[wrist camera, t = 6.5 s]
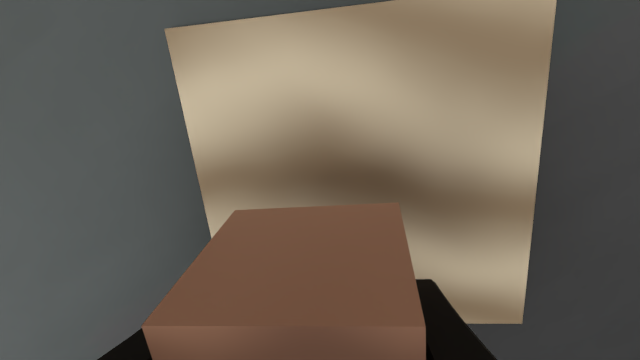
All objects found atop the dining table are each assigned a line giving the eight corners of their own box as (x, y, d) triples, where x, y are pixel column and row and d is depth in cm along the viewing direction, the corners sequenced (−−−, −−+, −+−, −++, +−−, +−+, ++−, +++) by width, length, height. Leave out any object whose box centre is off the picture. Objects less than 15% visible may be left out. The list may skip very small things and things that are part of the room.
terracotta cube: (403, 338, 11) (427, 520, 7) (260, 337, 12) (200, 503, 7) (399, 202, 9) (425, 326, 5) (234, 210, 10) (141, 326, 6)
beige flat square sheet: (517, 315, 18) (522, 323, 18) (234, 315, 20) (230, 322, 20) (550, -18, 13) (558, -20, 13) (171, 29, 15) (164, 28, 15)
